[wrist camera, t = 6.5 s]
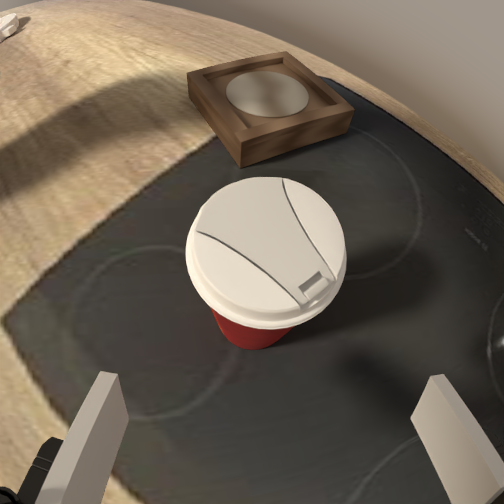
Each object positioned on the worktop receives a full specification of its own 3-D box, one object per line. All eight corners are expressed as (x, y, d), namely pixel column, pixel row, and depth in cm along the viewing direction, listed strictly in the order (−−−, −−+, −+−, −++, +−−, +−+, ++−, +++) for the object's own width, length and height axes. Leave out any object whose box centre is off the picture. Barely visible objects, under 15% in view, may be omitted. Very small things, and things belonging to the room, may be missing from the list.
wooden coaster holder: (240, 168, 33) (241, 142, 30) (188, 96, 39) (186, 72, 35) (346, 132, 37) (355, 109, 34) (283, 72, 43) (286, 51, 39)
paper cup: (316, 325, 26) (386, 251, 14) (244, 381, 24) (255, 361, 12) (259, 258, 29) (278, 145, 16) (187, 306, 27) (149, 217, 14)
